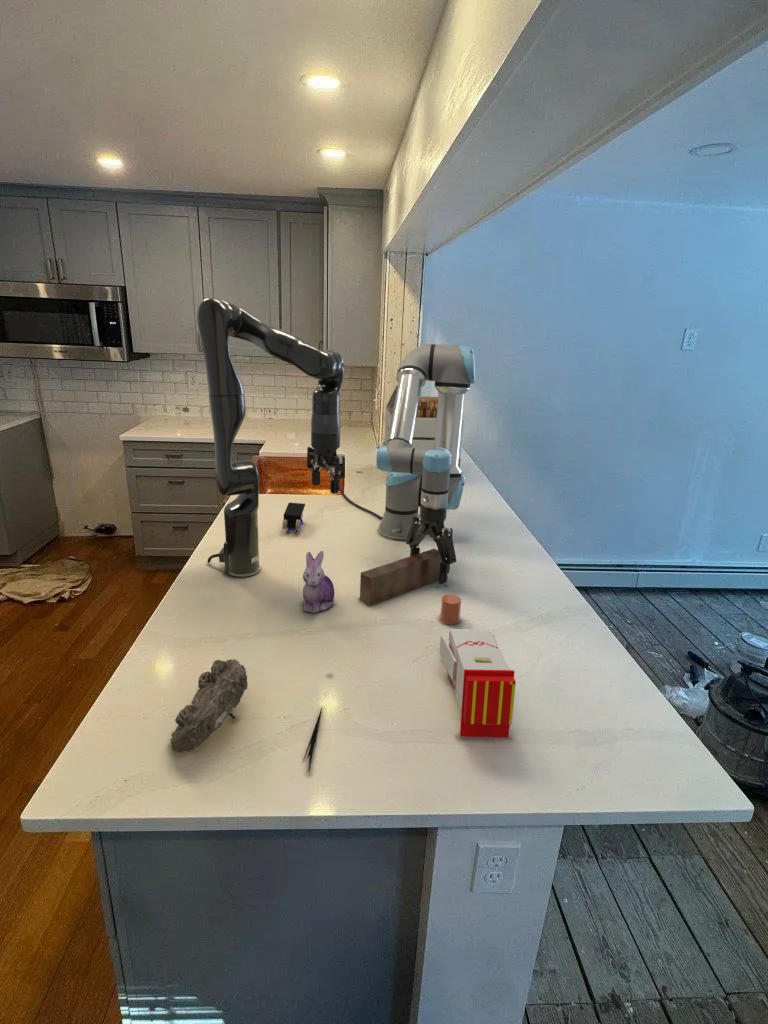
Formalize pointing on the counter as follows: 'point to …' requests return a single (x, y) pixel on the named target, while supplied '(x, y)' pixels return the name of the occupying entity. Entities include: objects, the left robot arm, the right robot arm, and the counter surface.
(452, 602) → the cylinder block
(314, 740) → the feather
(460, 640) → the toy
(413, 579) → the bar
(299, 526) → the figurine character
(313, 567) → the figurine
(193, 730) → the fossil
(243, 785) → the counter surface
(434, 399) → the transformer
